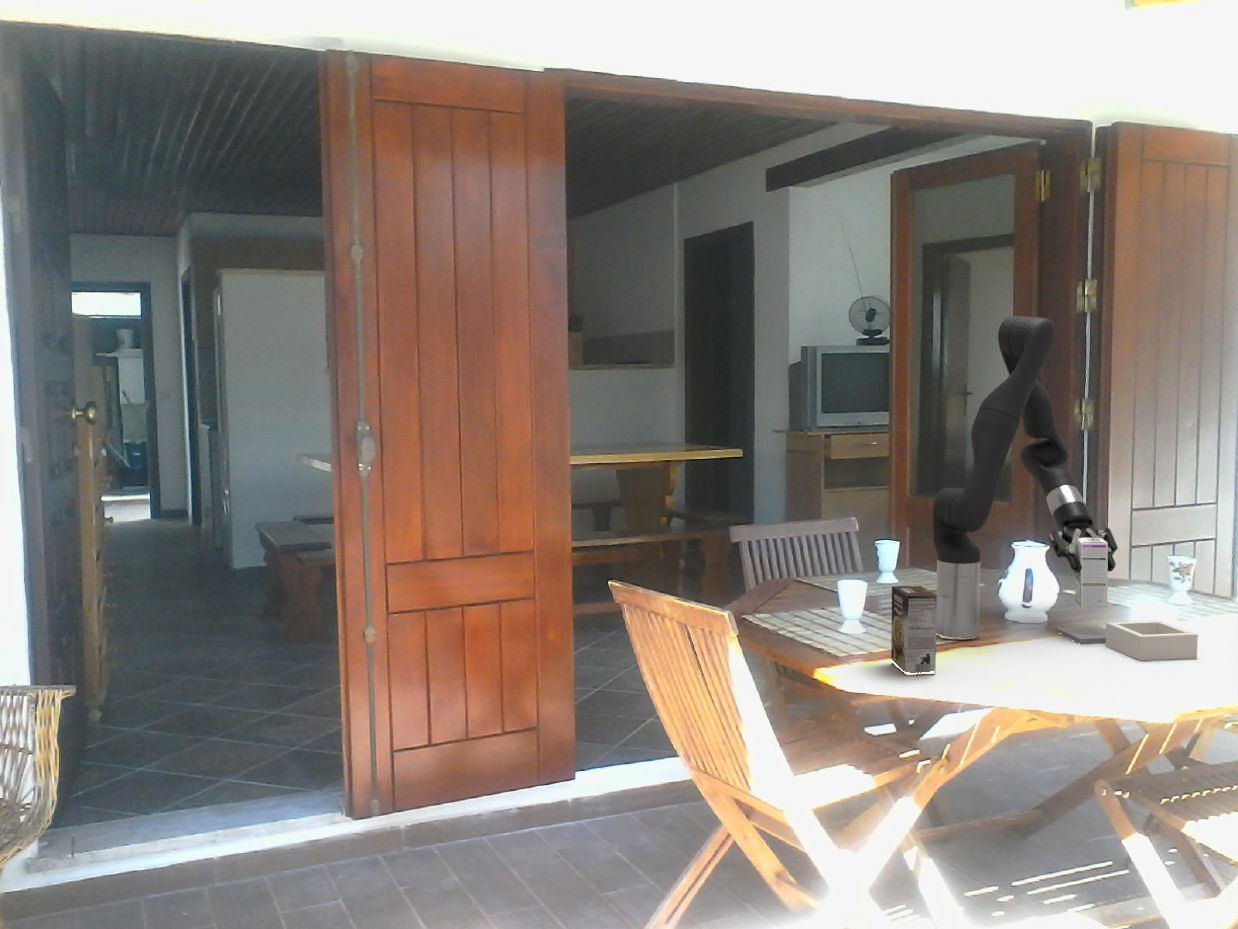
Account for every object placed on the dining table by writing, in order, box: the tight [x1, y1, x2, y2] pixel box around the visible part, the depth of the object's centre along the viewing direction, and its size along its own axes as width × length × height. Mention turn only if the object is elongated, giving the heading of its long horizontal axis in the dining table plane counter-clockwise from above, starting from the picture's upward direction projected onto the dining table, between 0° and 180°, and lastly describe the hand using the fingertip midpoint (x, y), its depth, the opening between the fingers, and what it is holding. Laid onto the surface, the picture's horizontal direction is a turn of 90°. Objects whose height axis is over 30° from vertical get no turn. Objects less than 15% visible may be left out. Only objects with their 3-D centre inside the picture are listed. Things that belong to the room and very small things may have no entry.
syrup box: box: [1075, 537, 1109, 608], centre depth 239 cm, size 6×6×14 cm
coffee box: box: [890, 585, 937, 673], centre depth 217 cm, size 9×6×16 cm
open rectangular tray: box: [1105, 620, 1199, 662], centre depth 228 cm, size 12×12×5 cm
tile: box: [1056, 625, 1106, 645], centre depth 241 cm, size 10×10×1 cm
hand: (1095, 570), depth 238 cm, fingers closed on syrup box, 7 cm apart
